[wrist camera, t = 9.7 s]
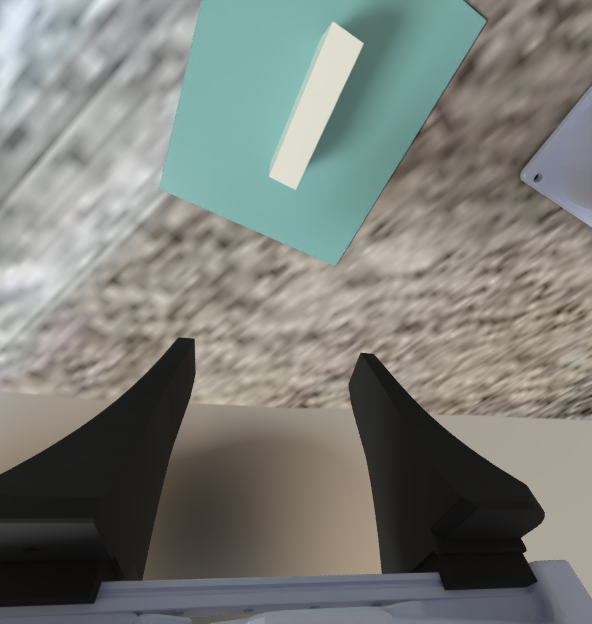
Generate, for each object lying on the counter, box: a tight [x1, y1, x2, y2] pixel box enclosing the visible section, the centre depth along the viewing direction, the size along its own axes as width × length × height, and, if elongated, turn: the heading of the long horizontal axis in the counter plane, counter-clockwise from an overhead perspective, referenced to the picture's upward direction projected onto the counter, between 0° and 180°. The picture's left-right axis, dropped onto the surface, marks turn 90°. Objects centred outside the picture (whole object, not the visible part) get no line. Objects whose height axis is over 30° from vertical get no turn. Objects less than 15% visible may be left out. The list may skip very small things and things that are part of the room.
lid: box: [159, 0, 486, 266], centre depth 15 cm, size 12×14×4 cm
